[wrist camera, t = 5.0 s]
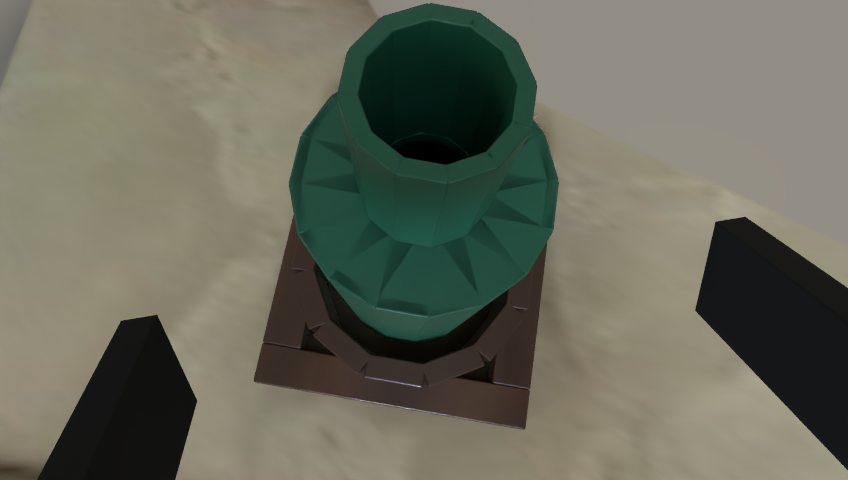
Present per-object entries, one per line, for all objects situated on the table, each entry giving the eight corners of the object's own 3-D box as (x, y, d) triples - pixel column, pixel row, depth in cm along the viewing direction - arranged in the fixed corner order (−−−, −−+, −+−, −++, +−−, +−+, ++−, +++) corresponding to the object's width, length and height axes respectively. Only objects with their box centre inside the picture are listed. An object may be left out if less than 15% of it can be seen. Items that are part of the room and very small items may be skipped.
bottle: (334, 330, 26) (185, 244, 8) (361, 204, 28) (288, -105, 10) (467, 354, 26) (618, 321, 8) (486, 226, 28) (647, -41, 10)
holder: (261, 381, 25) (235, 383, 21) (318, 143, 28) (305, 107, 24) (518, 426, 25) (539, 437, 21) (547, 184, 28) (570, 154, 24)
